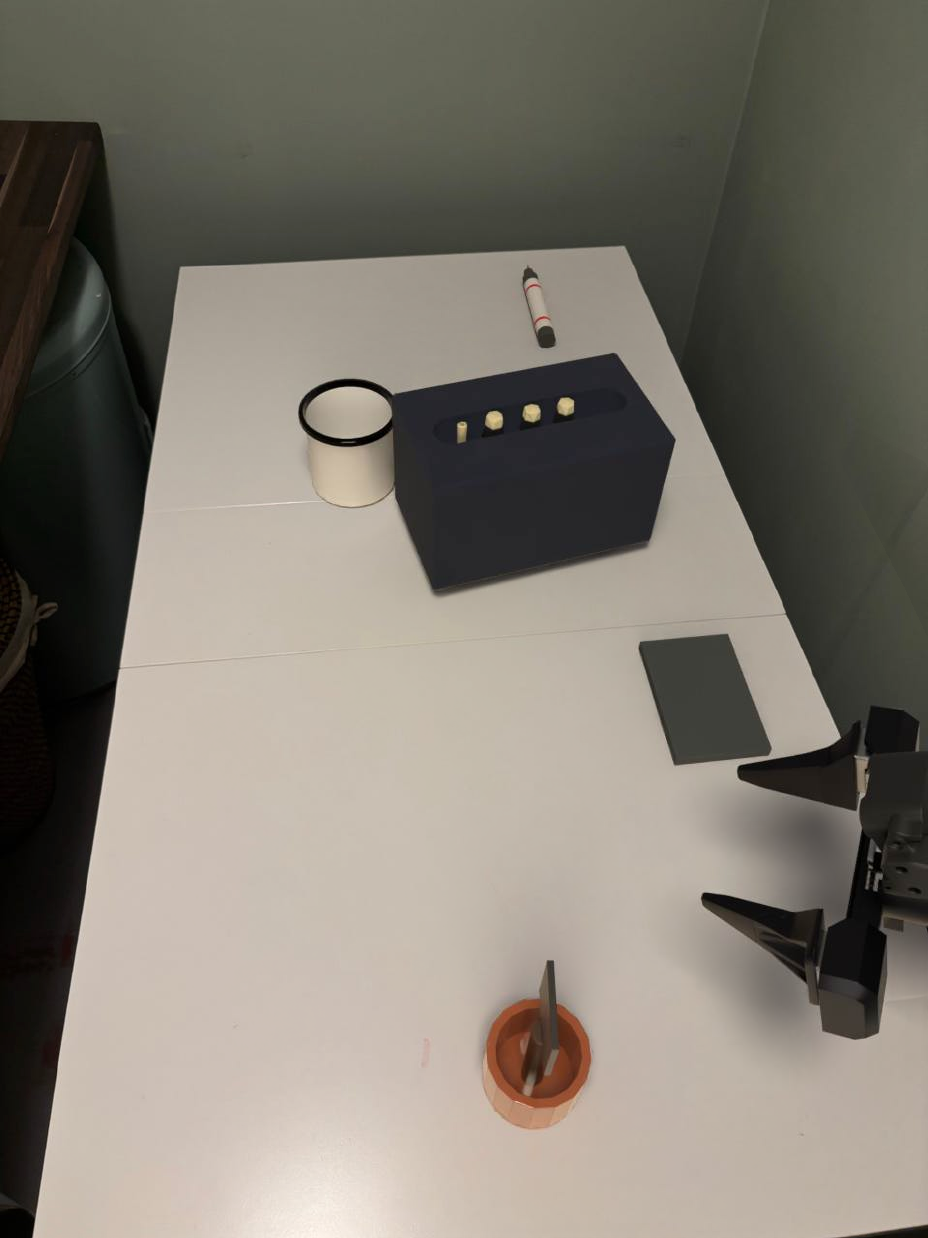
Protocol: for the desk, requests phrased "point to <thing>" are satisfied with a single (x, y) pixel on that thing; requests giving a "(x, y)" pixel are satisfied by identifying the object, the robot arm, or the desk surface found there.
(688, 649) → the mat
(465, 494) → the speaker
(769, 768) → the robot arm
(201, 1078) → the desk surface
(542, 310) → the marker
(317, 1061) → the desk surface
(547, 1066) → the spatula
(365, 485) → the mug
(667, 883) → the desk surface
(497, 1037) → the crock
